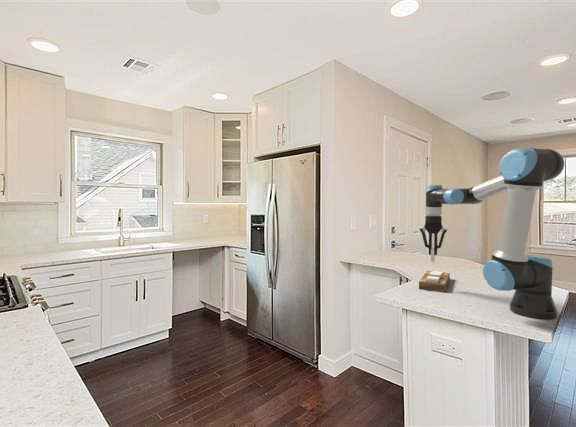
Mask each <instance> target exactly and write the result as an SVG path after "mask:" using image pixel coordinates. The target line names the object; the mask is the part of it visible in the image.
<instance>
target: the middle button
mask: <svg viewBox="0 0 576 427" xmlns="http://www.w3.org/2000/svg"><path fill="white" fill-rule="evenodd" d="M429 276H434V277H439V279H441V273H434V272H430V274H429Z"/></svg>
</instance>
